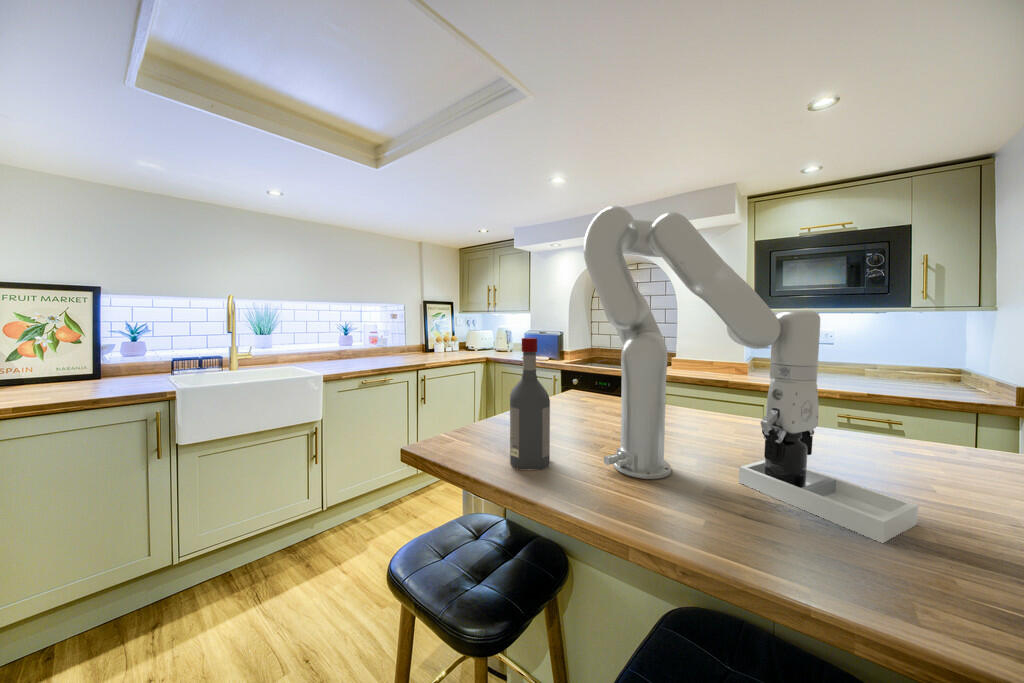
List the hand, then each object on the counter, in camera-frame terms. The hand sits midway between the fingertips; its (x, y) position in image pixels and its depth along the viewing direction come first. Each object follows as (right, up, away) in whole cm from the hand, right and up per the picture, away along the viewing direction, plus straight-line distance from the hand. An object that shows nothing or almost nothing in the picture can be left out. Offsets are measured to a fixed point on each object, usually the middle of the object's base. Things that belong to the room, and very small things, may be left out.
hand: (788, 456), depth 75 cm
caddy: (+2, -7, -4) cm, 9 cm away
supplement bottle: (0, -6, +1) cm, 6 cm away
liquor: (-52, -6, +14) cm, 54 cm away
